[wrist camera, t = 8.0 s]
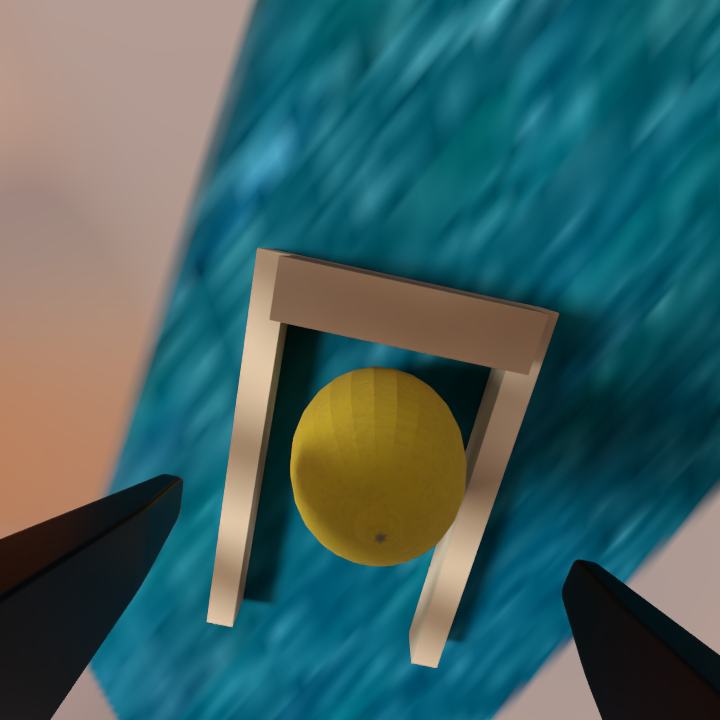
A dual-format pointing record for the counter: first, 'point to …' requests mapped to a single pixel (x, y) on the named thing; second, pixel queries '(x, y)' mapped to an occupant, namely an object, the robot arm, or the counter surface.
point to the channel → (399, 329)
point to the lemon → (378, 467)
